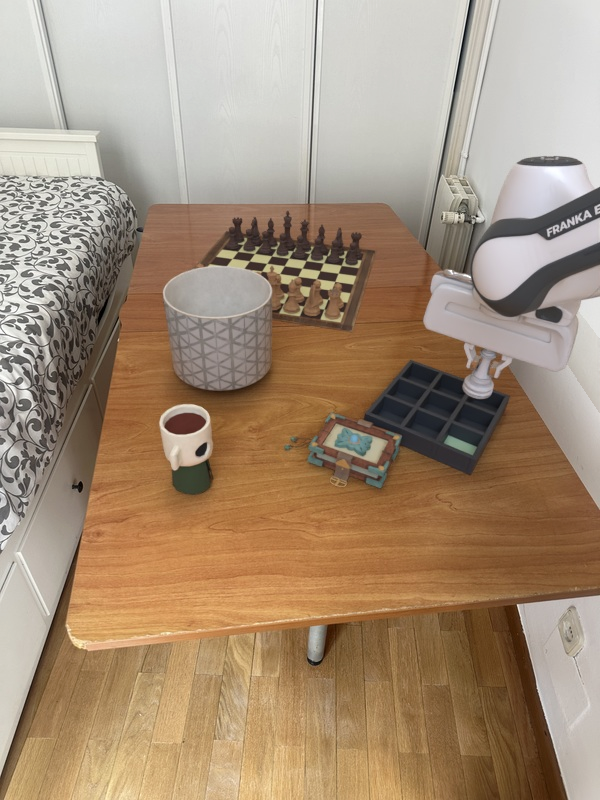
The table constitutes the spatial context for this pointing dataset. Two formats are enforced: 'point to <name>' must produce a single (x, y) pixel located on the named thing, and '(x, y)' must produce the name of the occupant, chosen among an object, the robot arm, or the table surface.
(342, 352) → the table surface
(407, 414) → the grid
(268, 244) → the chessboard
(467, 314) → the robot arm
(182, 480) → the character mug
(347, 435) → the decorative book
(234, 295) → the planter
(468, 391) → the chess piece
